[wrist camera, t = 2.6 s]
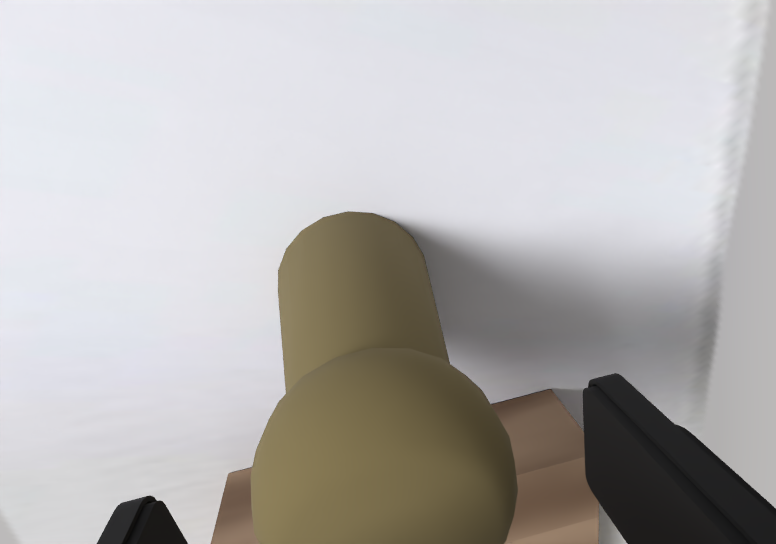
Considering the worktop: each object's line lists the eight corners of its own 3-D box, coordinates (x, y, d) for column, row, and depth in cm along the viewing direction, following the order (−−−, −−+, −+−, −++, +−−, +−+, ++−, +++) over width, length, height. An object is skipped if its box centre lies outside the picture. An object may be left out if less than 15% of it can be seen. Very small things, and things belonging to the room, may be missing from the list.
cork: (455, 288, 18) (629, 544, 8) (347, 372, 19) (375, 700, 9) (362, 177, 15) (437, 340, 5) (244, 280, 16) (114, 584, 6)
